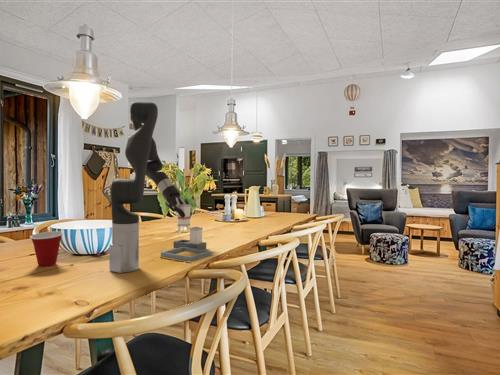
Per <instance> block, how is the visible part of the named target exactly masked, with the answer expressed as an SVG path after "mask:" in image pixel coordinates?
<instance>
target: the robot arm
mask: <svg viewBox="0 0 500 375" xmlns="http://www.w3.org/2000/svg"><path fill="white" fill-rule="evenodd" d="M158 110H159V109H158V106H157V104H156V103H154V102H150V101H149V102H148V101H133V102H132V103H131V105H130V108H129V111H130V112H129V113H130V119H131V121H132V125H133V127H134V130H135V131H134V132H133V133H132V134H131V135H130V136H129V137H128V139H127V142H126V146H125V150H124V153H125V154H124V155H125V157H126V160H127V162H128V163H129V166H131V168H132V170H133V172H134V174H135V176H134V177H133V178H115V179H112V182H111V185H110V201H111V202H110V205H111V223H112V224H111V227H112V228H111V243H110V244H109V272H114V273H119V274H122V273H130V272H134V271H137V270H139V267H140V264H139V262H140V260H139V259H140V257H139V256H140V253H139V252H140V216H139V214H138V213H135V212H132V211H130V210H128V209H126V208H125V206H124V205H139V204H140V203H141V202H143V198H144V192H145V185H146V184H145V182H146V177H147V178H149V179H150V180H151V181H153V182H154V184H155V186H156V187H157V188H158V191H159V192H160V193H161V195H162V196H163V198H164V199H165V200H166V201H165V203H164V204H165V205H166V206H167V207H168V208H169V209H170V210H171V211H172V212H176V213H177V215H178V214H179V215H180V216H181V217H182V218H184V217H185V213H184V212H183V211H182V209H181V208H180V206H179V205H180V204H189V205H191V204H190V201H189V200H188V198H183V197H182V196H181V192H180V191H179V189H178V188H177V187H176V185H175V184H174V182H173V181H172V180H171V179H170V177H169V176H168V175H167V173H166V172H165V171H162V169H163V168H164V167H163V163H162V160H161V159H160V157H159V154H158V149H157V143H156V141H155V139H154V138H153V135H154V134H153V133H154V132H155V131H154V130H155V127H156V124H157V120H158V115H159V113H158V112H159V111H158ZM192 215H193V214H192V211H190V218H191V217H192Z"/></svg>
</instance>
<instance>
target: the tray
mask: <svg viewBox="0 0 500 375" xmlns="http://www.w3.org/2000/svg"><path fill="white" fill-rule="evenodd" d="M181 252H189V253H196V254H195V255H191V256H188V255H183V254H182V255H181V254H178V253H181ZM176 253H177V254H176ZM211 255H212V250H209V249H208V250H207V249H204V250H202V249H195V248H188V247H180V248H173V249H169V250H165V251H161V252H160V259H163V260H169V261H173V260H174V261H173V262H179V263H184V262H185V263H186V264H192V261H195V260H199V259H201V258H205V257H207V256H211Z"/></svg>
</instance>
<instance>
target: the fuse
mask: <svg viewBox="0 0 500 375" xmlns="http://www.w3.org/2000/svg"><path fill="white" fill-rule="evenodd" d="M189 240H190V243H192V244H200V243H202V242H203V227H201V226H200V227H199V226H194V227H189Z"/></svg>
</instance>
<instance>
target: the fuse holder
mask: <svg viewBox="0 0 500 375" xmlns="http://www.w3.org/2000/svg"><path fill="white" fill-rule="evenodd" d="M180 247H188V248H195V249H202V250H207V242H205V241H202V243H200V244H192V243H190V239H184V238H183V239H178V240H174V241H173V249H176V248H180Z"/></svg>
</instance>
